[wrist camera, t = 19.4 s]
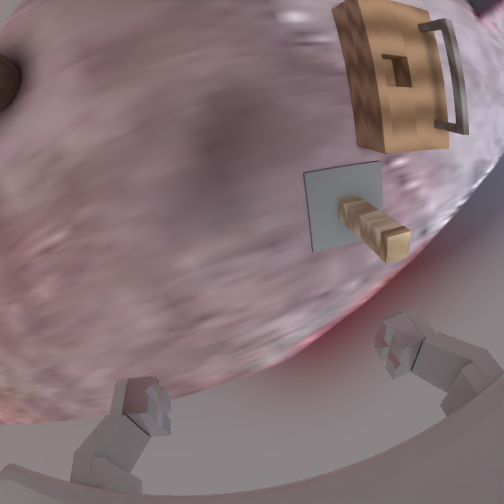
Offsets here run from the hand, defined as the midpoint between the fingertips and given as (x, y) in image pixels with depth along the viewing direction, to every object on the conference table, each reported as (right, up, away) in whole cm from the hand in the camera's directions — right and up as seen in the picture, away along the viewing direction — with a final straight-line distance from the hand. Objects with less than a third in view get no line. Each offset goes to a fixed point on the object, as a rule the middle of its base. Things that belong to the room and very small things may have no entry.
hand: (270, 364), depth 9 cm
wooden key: (+15, +11, +35) cm, 40 cm away
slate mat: (+15, +12, +35) cm, 40 cm away
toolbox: (+21, +33, +25) cm, 46 cm away
